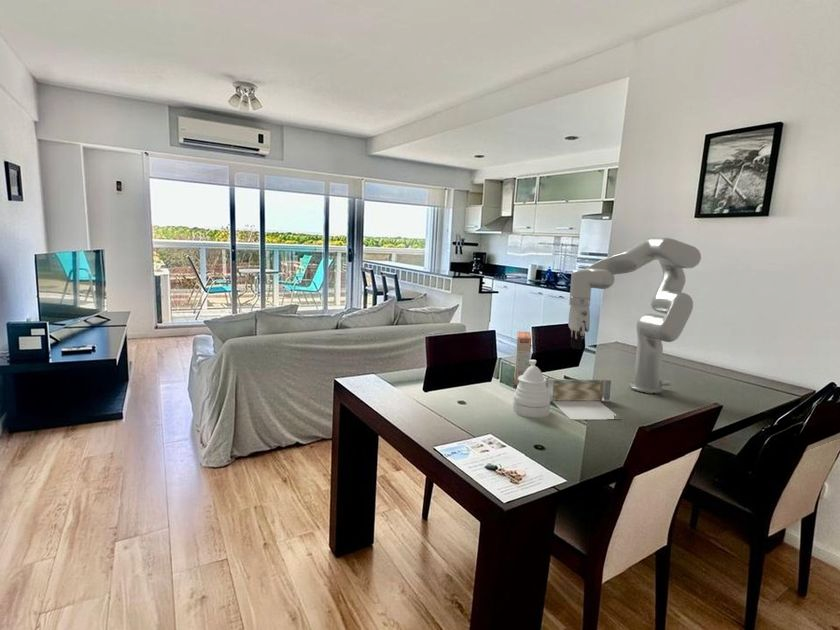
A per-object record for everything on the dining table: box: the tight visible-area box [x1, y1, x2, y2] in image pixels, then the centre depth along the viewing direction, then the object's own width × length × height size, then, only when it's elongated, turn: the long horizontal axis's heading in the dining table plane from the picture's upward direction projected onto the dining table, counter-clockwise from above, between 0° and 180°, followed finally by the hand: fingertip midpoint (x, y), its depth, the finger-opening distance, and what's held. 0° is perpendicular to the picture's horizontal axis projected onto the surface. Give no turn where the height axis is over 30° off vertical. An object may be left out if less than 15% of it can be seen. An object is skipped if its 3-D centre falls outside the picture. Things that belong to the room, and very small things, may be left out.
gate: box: [552, 378, 604, 399], centre depth 174 cm, size 19×2×7 cm, turn 93°
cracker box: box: [514, 331, 532, 386], centre depth 196 cm, size 14×6×21 cm, turn 168°
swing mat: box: [552, 402, 617, 421], centre depth 164 cm, size 18×17×1 cm
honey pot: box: [512, 359, 551, 418], centre depth 162 cm, size 13×13×18 cm
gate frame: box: [546, 377, 612, 403], centre depth 174 cm, size 25×3×8 cm, turn 93°
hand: (576, 347), depth 178 cm, fingers closed
